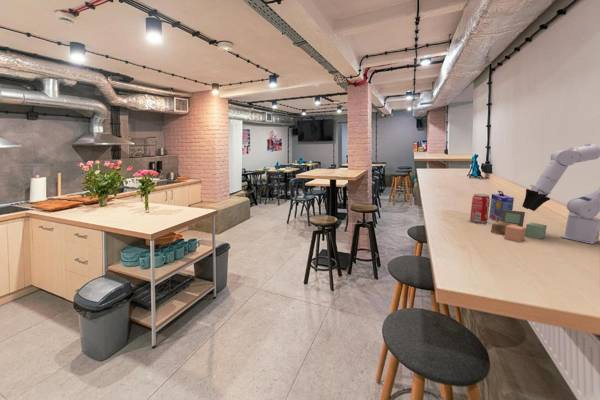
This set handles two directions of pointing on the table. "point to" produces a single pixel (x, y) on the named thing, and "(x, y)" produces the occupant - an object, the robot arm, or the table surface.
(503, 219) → the board
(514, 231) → the terracotta block
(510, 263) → the table surface
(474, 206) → the soda can
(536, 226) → the green block
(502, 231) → the walnut block
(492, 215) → the ink cartridge box
